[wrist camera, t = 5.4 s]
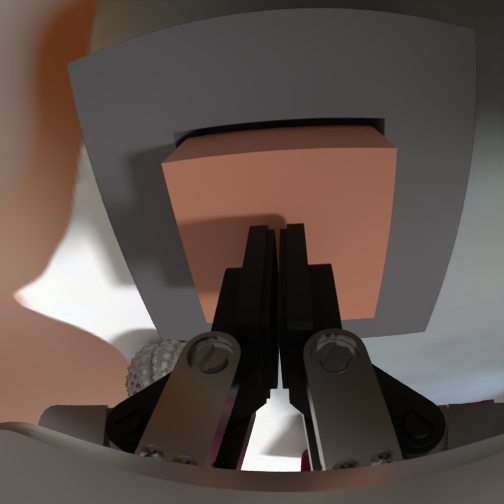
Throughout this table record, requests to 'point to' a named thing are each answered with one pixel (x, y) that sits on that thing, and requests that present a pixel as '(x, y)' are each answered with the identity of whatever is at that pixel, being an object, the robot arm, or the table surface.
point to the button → (287, 203)
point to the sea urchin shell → (152, 364)
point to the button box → (277, 116)
